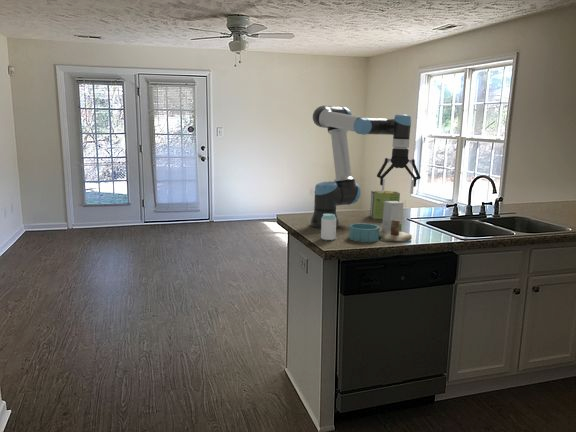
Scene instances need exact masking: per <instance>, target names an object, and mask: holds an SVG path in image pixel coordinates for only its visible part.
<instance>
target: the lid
mask: <svg viewBox="0 0 576 432" xmlns="http://www.w3.org/2000/svg"><path fill="white" fill-rule="evenodd" d="M399 228H400V220H391V231H382V230H381V231H379V239H380V238H382V239H385V240H392V241H391V242H395V241H407V240H412V237H413V236H412V234H411V233H407V232H406V231H405V232H404V231H401V232H399Z"/></svg>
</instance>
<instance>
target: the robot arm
mask: <svg viewBox="0 0 576 432" xmlns="http://www.w3.org/2000/svg"><path fill="white" fill-rule="evenodd" d="M411 118H412V117H411V115H410V114H395V115H394V118H385V117H384V118H379V117H378V118H377V117H376V118H372V117H371V118H370V117H366V116H365V117H363V116H357V115H353V114H352V112H351V110H350V109H349V108H348V107H346V106H341V105H337V106H336V105H321V106H318V107H317V108H316V109H315V110H314V111H313V113H312V120H313V123H314V125H316V126H317V127H319V128H324V129H325V128H326V129H327V133H328V134H329V135H330V137H331V145H332V147H331V148H332V155H333V166H334V173H335V174H334V175H335V179H334V180H333V181H322V182H319V183H317V184H315V186H314V187H315V188H314V191H313V192H314V206H313V214H312V217H311V219H310V226H311V227H313V228H316V229H321V218H322V216H323V214H335V217H336V229H337V228H339V225H340V223H339V218H338V215H337V206H338V207H339V206H350V205H353V204H354V205H355V204H356V203H357V202H358V201H359V199H360V197H361V193H362V191H361V186H359V184H358V183H356V181H355V180H356V179H355V177H353V176H352V169H351V168H352V167H351V161H350V152H349V151H350V149H349V143H348V132H349V131H350V132H355V133H356V134H358V135H364V136H365V135H383V136H384V135H387V136H388V135H390V136H391V135H392V136H393V137H392V147H393V148H392V149H391V151H392V152H391V158H388V157H385V158H384V161H383V164H382V165H381V167H380V169H379V170H378V172H377V174H376V177H377V178H379V180H380V181H379V186H381V191H382V193H384V191H385V184H386V183H385V182H386V178H385V177H386V176H387V175H388V174H389V173H390V172H391V171H392V170H393V169H394V168H395V169H405V170H406V171H407V173H408V174H409V176H411V178H412V179H411V185H410V195H413V194H414V188H415V187H417V180H421V177H422V176H421V175H420V172H419V171H418V168H417V165H416V160H415V159H414V158H410V159H409V151H410V150H409V148H410V134H411V128H412V127H411V126H412V119H411ZM389 163H391V165H390V166H389V167H388V168H387V169H386V170H385V171H384V169H385V168H386V166H387V165H388V164H389ZM409 163H410V164H411V166H412V169H413V171H414V173H415V174H414V173H413V171H412V170H411V169H410V167H409V166H408V164H409ZM383 171H384V172H383Z"/></svg>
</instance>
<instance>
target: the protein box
mask: <svg viewBox="0 0 576 432" xmlns="http://www.w3.org/2000/svg"><path fill="white" fill-rule="evenodd" d="M370 193H371V195H370V212H369V216H370V217H371V219H374V220H383V210H384V201H398V202H400V199H401V198H400V197H401V193H400V192H398V191H396V190H384V193H382V190H371V192H370Z"/></svg>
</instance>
